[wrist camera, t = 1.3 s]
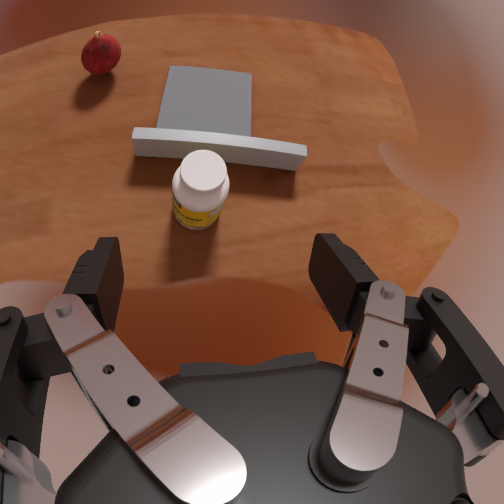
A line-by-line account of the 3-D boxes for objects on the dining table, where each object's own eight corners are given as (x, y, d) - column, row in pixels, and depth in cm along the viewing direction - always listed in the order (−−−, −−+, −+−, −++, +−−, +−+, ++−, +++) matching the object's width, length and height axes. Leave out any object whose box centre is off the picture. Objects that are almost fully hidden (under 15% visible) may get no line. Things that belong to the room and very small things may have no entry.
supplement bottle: (162, 208, 34) (158, 168, 24) (196, 177, 35) (203, 131, 26) (197, 241, 34) (204, 211, 24) (230, 208, 35) (248, 169, 26)
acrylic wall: (135, 155, 34) (131, 138, 30) (137, 145, 34) (134, 127, 31) (295, 171, 38) (307, 156, 35) (295, 160, 39) (306, 145, 35)
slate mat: (156, 131, 35) (155, 129, 35) (170, 67, 38) (170, 65, 37) (249, 139, 38) (250, 137, 37) (251, 76, 41) (251, 73, 40)
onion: (128, 75, 36) (124, 34, 29) (91, 91, 34) (81, 51, 27) (116, 54, 37) (112, 16, 29) (82, 69, 35) (72, 31, 27)
